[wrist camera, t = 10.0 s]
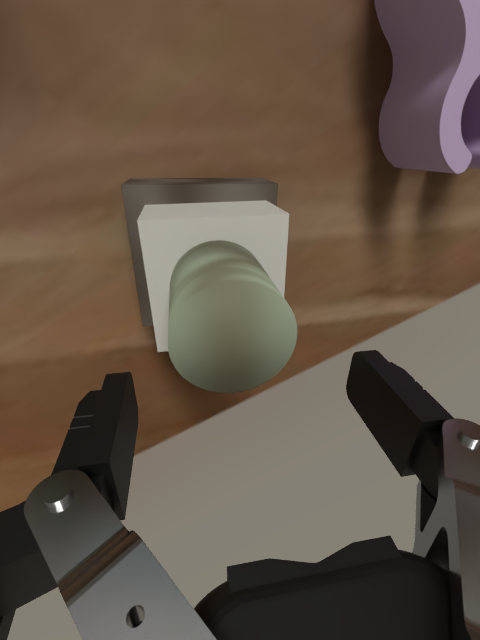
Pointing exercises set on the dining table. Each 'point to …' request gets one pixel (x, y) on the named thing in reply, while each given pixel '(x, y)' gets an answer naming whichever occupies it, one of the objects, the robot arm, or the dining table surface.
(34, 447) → the dining table surface
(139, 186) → the base block
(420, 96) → the clip
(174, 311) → the sage cylinder
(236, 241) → the top block
